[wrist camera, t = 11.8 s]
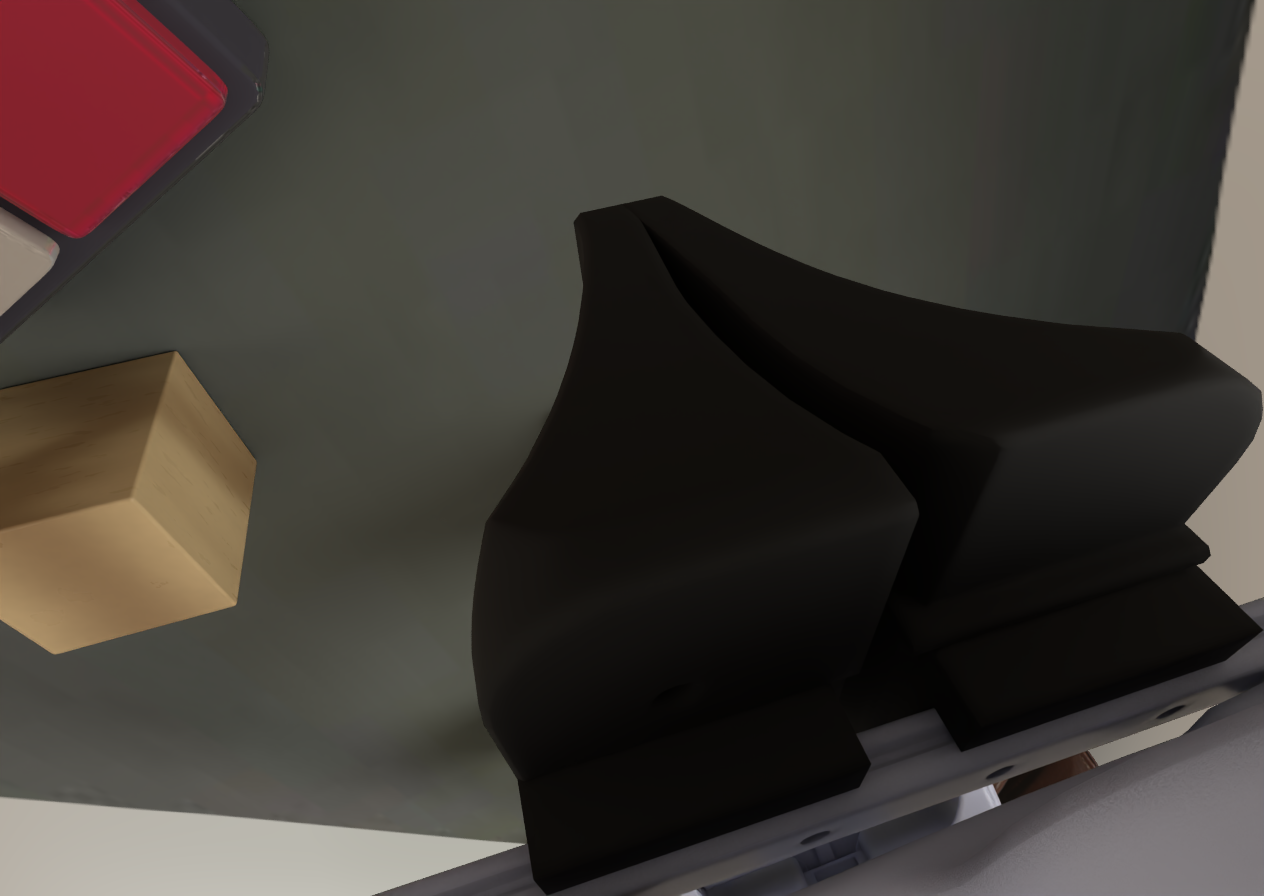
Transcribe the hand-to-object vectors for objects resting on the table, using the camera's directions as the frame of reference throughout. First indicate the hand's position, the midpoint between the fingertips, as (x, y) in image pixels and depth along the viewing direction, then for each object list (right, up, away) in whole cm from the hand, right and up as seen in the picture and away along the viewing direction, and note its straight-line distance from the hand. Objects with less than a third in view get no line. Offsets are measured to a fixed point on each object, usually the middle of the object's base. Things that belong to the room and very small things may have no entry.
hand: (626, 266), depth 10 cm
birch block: (-16, -2, +11) cm, 19 cm away
